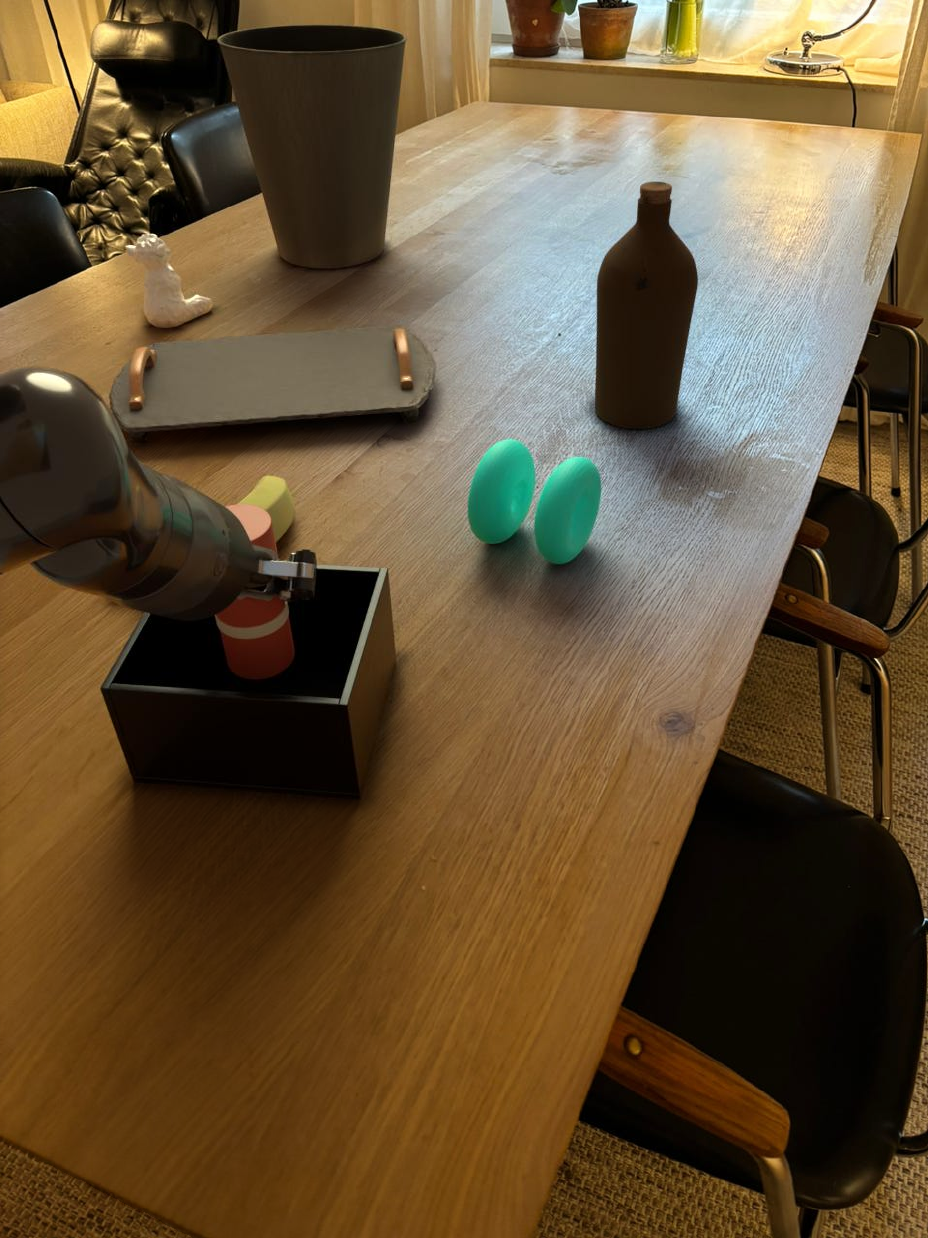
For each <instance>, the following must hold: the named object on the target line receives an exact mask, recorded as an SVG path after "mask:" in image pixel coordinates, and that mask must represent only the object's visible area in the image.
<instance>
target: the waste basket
mask: <svg viewBox="0 0 928 1238" xmlns="http://www.w3.org/2000/svg"><path fill="white" fill-rule="evenodd" d="M216 41H217V43H218V44H219V48H220V51H221V54H222V57H223V60H224V64H225V68H226V71H227V75H228V78H229V82H230V85H231V89H232V92H233V95H234V99H235V102H236V106H237V110H238V113H239V116H240V120H241V123H242V127H243V131H244V135H245V137H246V141H247V145H248V149H249V153H250V156H251V160H252V162H253V166H254V168H255V174H256V177H257V180H258V184H259V187H260V190H261V191H260V192H261V195H262V198H263V201H264V202H263V203H264V205H265V209H266V212H267V215H268V219H269V222H270V226H271V230H272V233H273V236H274V240H275V244H276V248H277V251H278V254H279V256H280V257H281V258H282V259H283V260H284V261H286V262H287V263H289V264H292V265H294V266H297V267H303V268H311V269H340V268H349V267H354V266H358V265H362V264H366V263H368V262H370V261H373V260H374V259H376V258H378V257H379V256H380V255H381V254H382V253H383V251H384V249H385V243H386V233H387V223H388V213H389V203H390V193H391V185H392V184H391V183H392V173H393V163H394V156H395V155H394V154H395V144H396V135H397V124H398V116H399V115H398V114H399V107H400V106H399V105H400V95H401V85H402V76H403V67H404V58H405V50H406V42H407V41H408V37H407V35H406V34H404V33H403V32H400V31H397V30H392V29H389V28H383V27H375V26H365V25H351V24H323V23H322V24H288V25H287V24H285V25H271V26H270V25H268V26H260V27H252V28H245V29H240V30H239V29H238V30H235V31H231V32H230V31H229V32H227V33H225V34H222V35H220V36H219V37H218V38H217V40H216Z"/></svg>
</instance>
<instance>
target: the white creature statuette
mask: <svg viewBox="0 0 928 1238" xmlns="http://www.w3.org/2000/svg"><path fill="white" fill-rule="evenodd" d="M124 247H125V249H126V251H127V254H128V256H129V257H130V258H134V261H135V262H136V263H138V264H140V265H141V266H143V267H144V268H145V269H147V270H146V271H145V276H144V277H143V288H144V297H143V308H142V311H143V314H144V316H145V318H146V321H147V322H148V323H149V324H151V325H152V326H154V327H156V328H163V329H167V328H168V329H169V328H175V327H176V328H177V327H178V326H182V325H183V324H184V323H188V322H190V321H192V320H193V319H194V320H195V319H196V318H198V317H200V316H202V315H206V314H207V313H210V310H211V309H212V308H213V305H214V304H213V301H212V299H211V298H210V297H206V296H202V295H200V294H194V295H193V296H191V297H190V298H186V299H185V295H184V294H183V293H182V286H181V283H182V278H181V277H180V275H178V274H177V273H176V271H175V269H174V268H173V266H171V264H170V263H169V262H170V261H171V260H172V257H171V250H170V249H169V248H168V247H167V244H166V243H165V242H164V241H163V239H161V238H159V237H158V235H157V234H154V233H146V234H144V233H143V234H141V236H139V237H137V239H136V242H135V245H129V244H128V245H125V246H124Z"/></svg>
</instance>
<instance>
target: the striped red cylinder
mask: <svg viewBox="0 0 928 1238" xmlns="http://www.w3.org/2000/svg"><path fill="white" fill-rule="evenodd" d="M224 507H226V508H227V509H229V510H230V511H231V512H232V513H233V514H234V515H235V516H236V517H237V518H238V519H239V520H240V522H241V523H242V525H243V526H244V528H245V530H246V532H247V534H248V536H249V539H250V541H251V543H252V544H253V545H256V546H260V547H264V548H267V549H271V550H274V551H275V553H276V556H277V558H278V559H279V553H278V549H277V542H275V536H274V530H273V525H272V519H271V516H270V515H269V514H268V512H267V511H265V510H264V509H262V508H260V507H257V506H253V505H245V504H239V505H237V504H231V505H224ZM274 583H275V577H274ZM251 589H252V588H251ZM251 589H250V590H251ZM288 615H289V608H288V602H286V601H284V600H278V598H275V597H273V598H272V600H271V601H253V600H247V599H242V600H235V601H234V602H233V603H232V604H231V605H229V606H228V607H227V608H226V609H224V610H223V611H221V612H220V613H218V614H216V615H215V618H216V622H217V626H218V628H219V629H220V633H221V637H222V642H223V646H224V650H225V654H226V659H227V663H228V666H229V668H230V670H231V671H232V672H233V673H234V674H236V675H238V676H240V677H242V678H246V679H265V678H269V677H272V676H275V675H277V674H279V673H281V672H282V671H284V670H285V669H286V668H288V666H289V665H290V664H291V663H292V661H293V659H294V655H295V651H294V645H293V639H292V633H291V628H290V622H289V616H288Z"/></svg>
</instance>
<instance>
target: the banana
mask: <svg viewBox="0 0 928 1238" xmlns="http://www.w3.org/2000/svg"><path fill="white" fill-rule="evenodd" d="M239 504H245V505H253V506H257V507H260V508H262V509H264V510H265V511H267V512H268V514H269V515H270V516H271V519H272V525H273V530H274V536H275V542H276V543H277V542H278V541H279V540H280V539H281V538H282V537H283V536H284V534H285V533H286V532H287V531H288V530H289V528H290V527H291V525H292V523H293V521H294V519H295V515H296V506H295V502H294V499H293V495H292V493H291V491H290V488H289V486H288V483H287V482H286V480H285V479H284V478H282V477H279V476H275V475H264V476H262V477H261V478H260V479H259V480H258V481H257V483H256V484H255V485H254V488H253V490H251V492H249V493H248V494H247V495H246V496H245V497H244V498H243V499H241V500H240V501H239V502H238V503H237V504H236V505H239Z"/></svg>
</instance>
